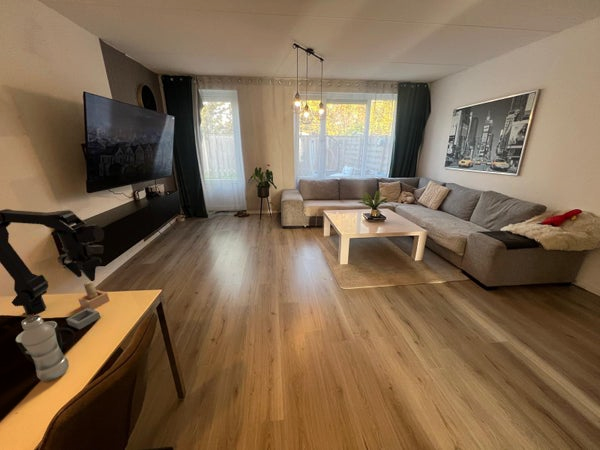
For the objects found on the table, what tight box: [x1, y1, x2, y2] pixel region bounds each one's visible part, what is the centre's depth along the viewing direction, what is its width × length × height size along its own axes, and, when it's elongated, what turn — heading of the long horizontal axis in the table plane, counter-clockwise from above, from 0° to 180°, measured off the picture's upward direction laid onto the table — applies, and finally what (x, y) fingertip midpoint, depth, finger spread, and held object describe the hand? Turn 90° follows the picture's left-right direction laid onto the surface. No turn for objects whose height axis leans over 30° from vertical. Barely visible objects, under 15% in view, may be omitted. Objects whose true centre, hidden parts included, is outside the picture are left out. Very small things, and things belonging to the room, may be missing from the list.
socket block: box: [65, 308, 101, 330], centre depth 91 cm, size 7×7×4 cm
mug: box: [15, 320, 75, 365], centre depth 77 cm, size 12×9×10 cm
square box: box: [77, 289, 110, 310], centre depth 101 cm, size 7×7×5 cm
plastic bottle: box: [20, 314, 70, 382], centre depth 68 cm, size 6×7×20 cm
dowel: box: [83, 281, 98, 301], centre depth 100 cm, size 3×3×10 cm
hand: (86, 278), depth 97 cm, fingers open, 9 cm apart
